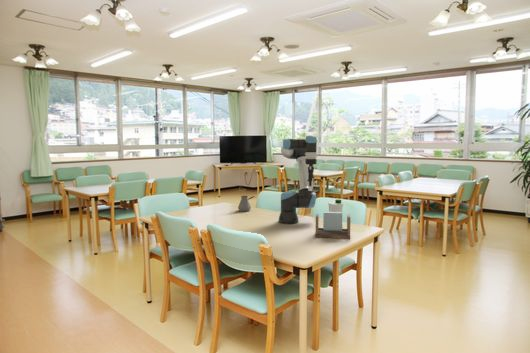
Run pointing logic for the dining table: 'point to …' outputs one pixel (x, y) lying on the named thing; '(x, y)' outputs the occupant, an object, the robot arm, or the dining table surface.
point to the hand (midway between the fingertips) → (310, 189)
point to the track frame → (333, 234)
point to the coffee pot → (244, 204)
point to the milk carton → (335, 206)
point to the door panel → (332, 221)
